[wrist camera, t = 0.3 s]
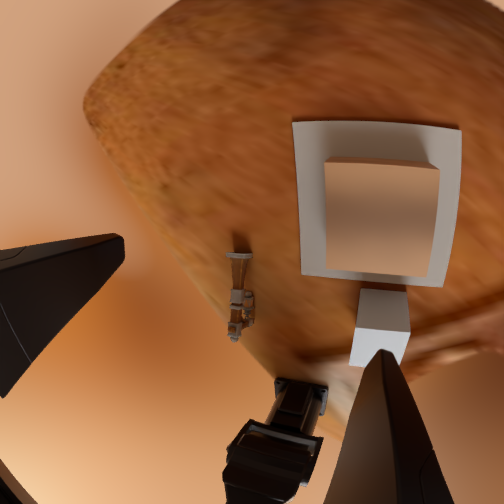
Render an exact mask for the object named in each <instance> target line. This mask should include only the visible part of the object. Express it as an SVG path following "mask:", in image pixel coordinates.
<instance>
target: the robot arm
mask: <svg viewBox="0 0 504 504" xmlns="http://www.w3.org/2000/svg"><path fill="white" fill-rule="evenodd" d="M124 259H125V247H124V239H123V237H122V236H120V235H118V234H116V233H110V234H102V235H95V236H88V237H82V238H75V239H67V240H61V241H55V242H49V243H43V244H36V245H30V246H24V247H18V248H12V249H6V250H0V396H1V398H4V397H5V396H6V395H7V394H8V393H9V391H10V390H11V389H12V388H13V386H14V385H15V384H16V382H17V381H18V380H19V378H20V377H21V376H22V375H23V374H24V372H25V371H26V370H27V369H28V368H29V366H30V365H31V363H32V362H33V361H34V360H35V359H36V358H37V357H38V355H39V354H40V353H41V352H42V351H43V349H44V348H45V347H46V346H47V345H48V344H49V343H50V342H51V341H52V339H53V338H54V337H55V336H56V335H57V334H58V333H59V332H60V331H61V329H62V328H63V327H64V326H65V325H66V324H67V323H68V322H69V321H70V320H71V319H72V318H73V317H74V316H75V314H77V313H78V311H79V310H80V309H81V308H82V307H83V306H84V305H85V304H86V303H87V302H88V301H89V300H90V299H91V298H92V297H93V296H94V295H95V294H96V293H97V292H98V291H99V290H100V289H101V287H102V286H103V285H104V284H105V283H106V282H107V280H108V279H109V278H110V277H111V276H112V275H113V273H114V272H115V271H116V270H117V269H118V268H119V266H120V265H121V264H122V263H123V261H124ZM274 385H275V395H276V400H275V402H274V404H273V406H272V409H271V411H270V413H269V415H268V417H267V419H266V421H265V423H264V424H263V423H260V422H257V421H255V420H253V419H250V420H249V421H248V422H247V423H246V424H245V425H244V426H243V428H242V429H241V430H240V432H239V433H238V435H237V436H236V437H235V439H234V440H233V441H232V442H231V443H230V444H229V445H228V447H227V449H226V450H227V452H228V454H227V458H226V463H227V466H226V467H225V469H224V471H223V473H222V478H223V482H224V484H225V491H226V499H227V502H226V504H288V503H290V502H291V501H292V500H293V499H294V497H295V495H296V492H297V490H298V488H299V485H301V486H304V487H306V486H307V484H308V482H309V480H310V477H311V475H312V472H313V470H314V467H315V464H316V461H317V458H318V455H319V452H320V449H321V445H322V442H323V439H324V438H323V437H315V436H312V435H313V432H314V429H315V426H316V423H317V420H318V417H319V416H323V415H324V412H325V407H326V401H327V395H328V387H325V386H320V385H314V384H308V383H302V382H297V381H292V380H287V379H282V378H276V379H275V381H274ZM432 449H433V446H432V443H431V441H430V438H429V435H428V433H427V430H426V427H425V425H424V422H423V420H422V417H421V415H420V413H419V410H418V408H417V405H416V403H415V400H414V398H413V396H412V393H411V391H410V389H409V386H408V384H407V382H406V380H405V378H404V375H403V373H402V371H401V369H400V367H399V364H398V362H397V360H396V358H395V356H394V354H393V353H392V352H391V351H388V350H385V349H379V350H378V351H377V352H376V354H375V355H374V356H373V358H372V359H371V360H370V361H369V363H368V364H367V366H366V367H365V369H364V372H363V375H362V379H361V382H360V385H359V388H358V392H357V395H356V398H355V401H354V404H353V407H352V410H351V413H350V416H349V420H348V424H347V428H346V432H345V436H344V440H343V443H342V447H341V451H340V454H339V458H338V461H337V465H336V468H335V471H334V474H333V477H332V480H331V484H330V486H329V489H328V492H327V495H326V498H325V500H324V503H323V504H454V501H453V499H452V496H451V494H450V491H449V489H448V486H447V484H446V481H445V479H444V476H443V474H442V471H441V468H440V465H439V463H438V460H437V457H436V454H435V451H434V450H432ZM311 455H312V456H311ZM0 504H38V503H37V502H36V501H35V500H34V499H33V498H32V497H31V496H30V495H29V494H28V493H27V491H26V490H25V489H24V488H23V487H22V486H21V484H20V483H19V482H18V481H17V480H16V479H15V477H14V476H13V475H12V474H11V472H10V471H9V470H8V468H7V467H6V466H5V465H4V463H3V462H2V460H1V459H0Z"/></svg>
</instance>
